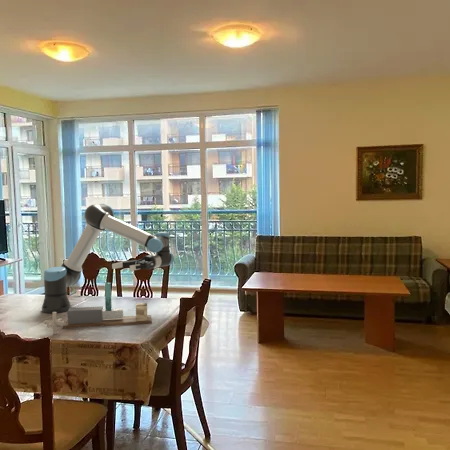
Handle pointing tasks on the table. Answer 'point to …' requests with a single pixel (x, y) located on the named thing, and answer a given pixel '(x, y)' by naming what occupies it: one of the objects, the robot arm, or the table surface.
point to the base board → (111, 322)
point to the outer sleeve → (85, 315)
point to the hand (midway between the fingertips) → (121, 267)
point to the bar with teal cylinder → (110, 306)
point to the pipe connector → (54, 322)
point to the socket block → (141, 311)
